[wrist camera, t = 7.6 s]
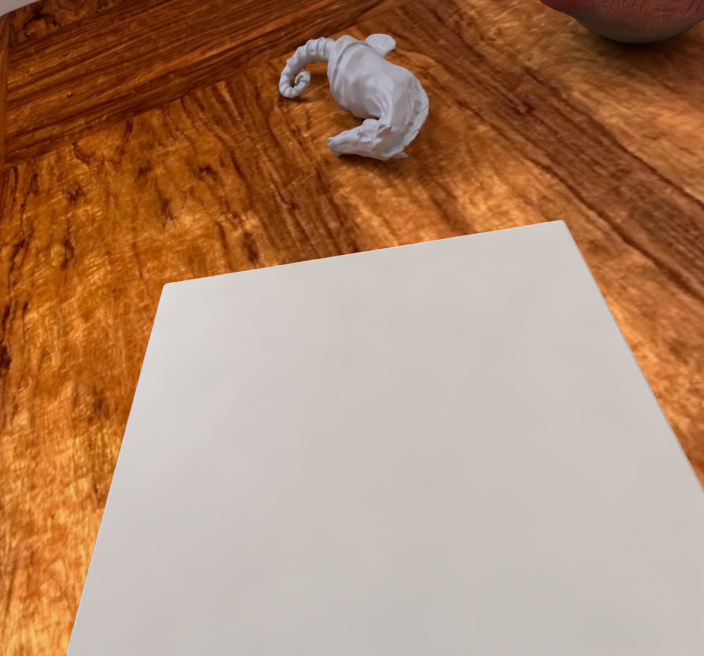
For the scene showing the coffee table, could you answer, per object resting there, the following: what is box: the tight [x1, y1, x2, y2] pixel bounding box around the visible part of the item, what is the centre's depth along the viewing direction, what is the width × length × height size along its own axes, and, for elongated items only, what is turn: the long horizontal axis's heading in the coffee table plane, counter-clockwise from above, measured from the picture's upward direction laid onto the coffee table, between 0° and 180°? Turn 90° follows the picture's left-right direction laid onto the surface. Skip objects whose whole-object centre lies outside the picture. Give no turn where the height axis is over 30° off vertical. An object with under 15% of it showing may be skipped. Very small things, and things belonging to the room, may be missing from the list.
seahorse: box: [279, 34, 429, 161], centre depth 36 cm, size 5×12×20 cm
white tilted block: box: [66, 220, 704, 656], centre depth 8 cm, size 5×7×12 cm
